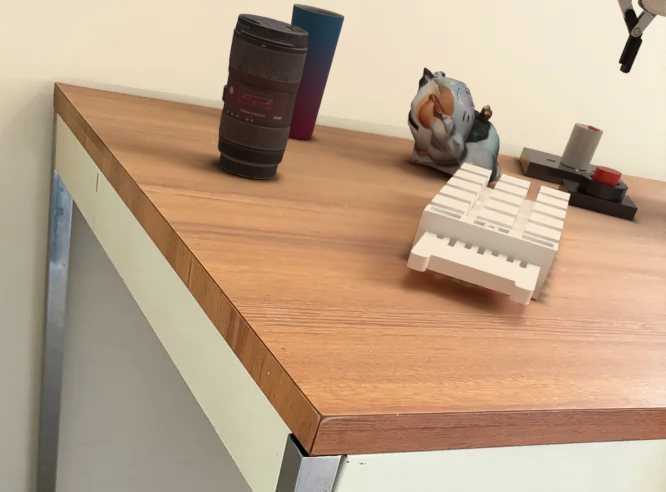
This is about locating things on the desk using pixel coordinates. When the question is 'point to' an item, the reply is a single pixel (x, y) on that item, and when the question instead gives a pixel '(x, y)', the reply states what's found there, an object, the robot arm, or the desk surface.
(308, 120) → the cup
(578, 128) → the hob knob
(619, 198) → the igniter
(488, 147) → the lucky cat figurine
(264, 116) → the camera lens
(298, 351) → the desk surface
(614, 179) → the button
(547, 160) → the hob console
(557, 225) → the organizer
